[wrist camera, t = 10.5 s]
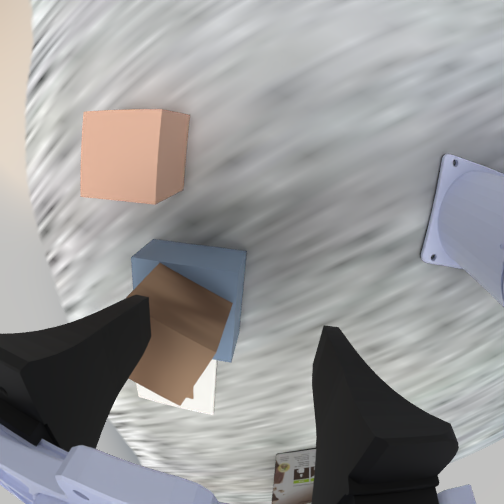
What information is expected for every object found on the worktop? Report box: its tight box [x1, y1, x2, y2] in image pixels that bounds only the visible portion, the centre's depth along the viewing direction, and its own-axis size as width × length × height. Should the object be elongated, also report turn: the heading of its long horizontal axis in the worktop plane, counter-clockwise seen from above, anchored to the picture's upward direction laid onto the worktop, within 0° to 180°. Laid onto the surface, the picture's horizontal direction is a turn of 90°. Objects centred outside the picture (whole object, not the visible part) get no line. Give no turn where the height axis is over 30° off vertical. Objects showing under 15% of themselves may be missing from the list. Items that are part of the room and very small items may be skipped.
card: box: [136, 359, 217, 415], centre depth 27 cm, size 8×8×1 cm
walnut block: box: [126, 263, 233, 406], centre depth 18 cm, size 5×5×5 cm
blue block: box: [131, 239, 247, 362], centre depth 22 cm, size 7×7×4 cm
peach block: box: [81, 109, 190, 204], centre depth 18 cm, size 5×5×5 cm
